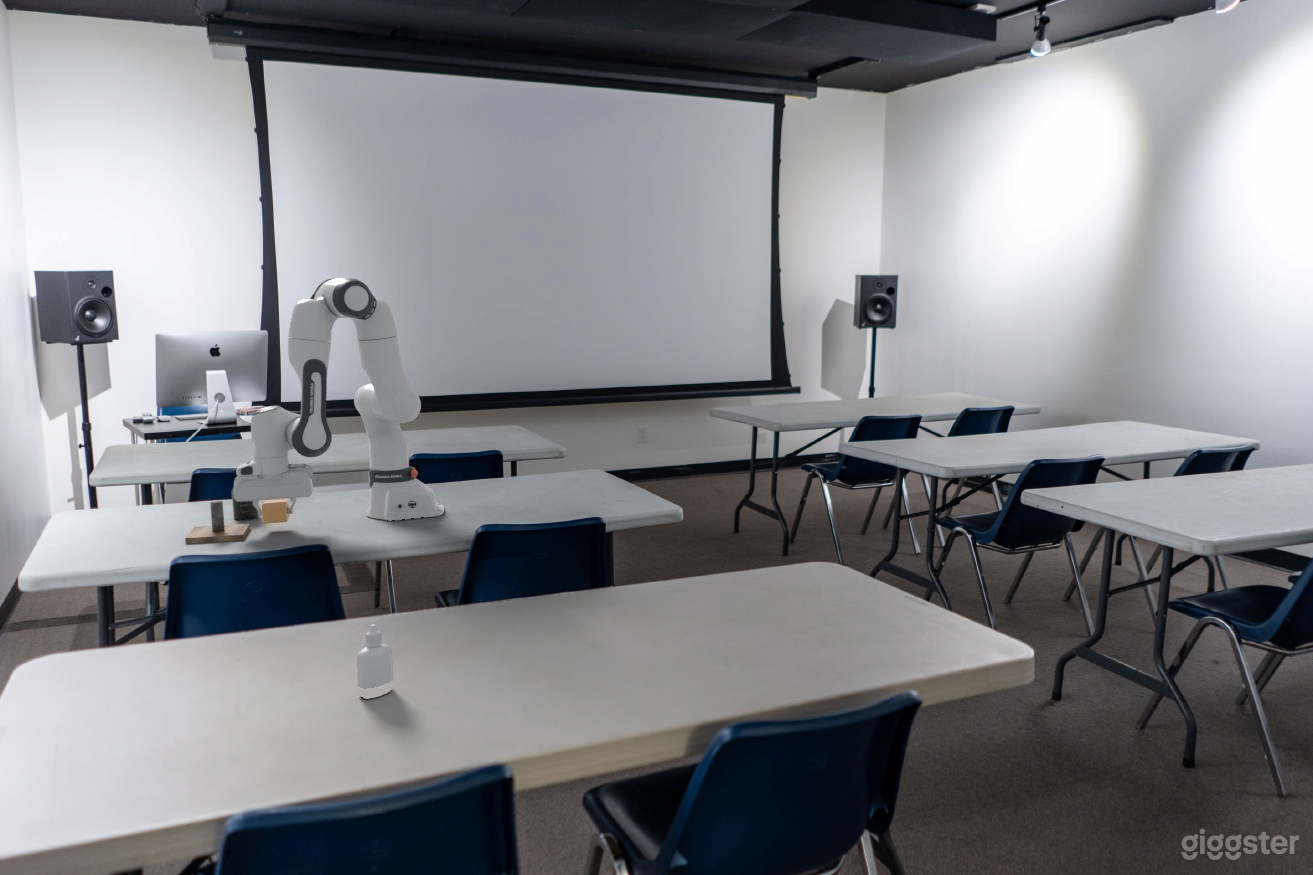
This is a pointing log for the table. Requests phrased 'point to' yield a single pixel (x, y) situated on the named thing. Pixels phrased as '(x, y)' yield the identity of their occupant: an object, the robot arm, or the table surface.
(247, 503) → the supplement bottle
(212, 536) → the post board
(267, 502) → the peach wooden cube
